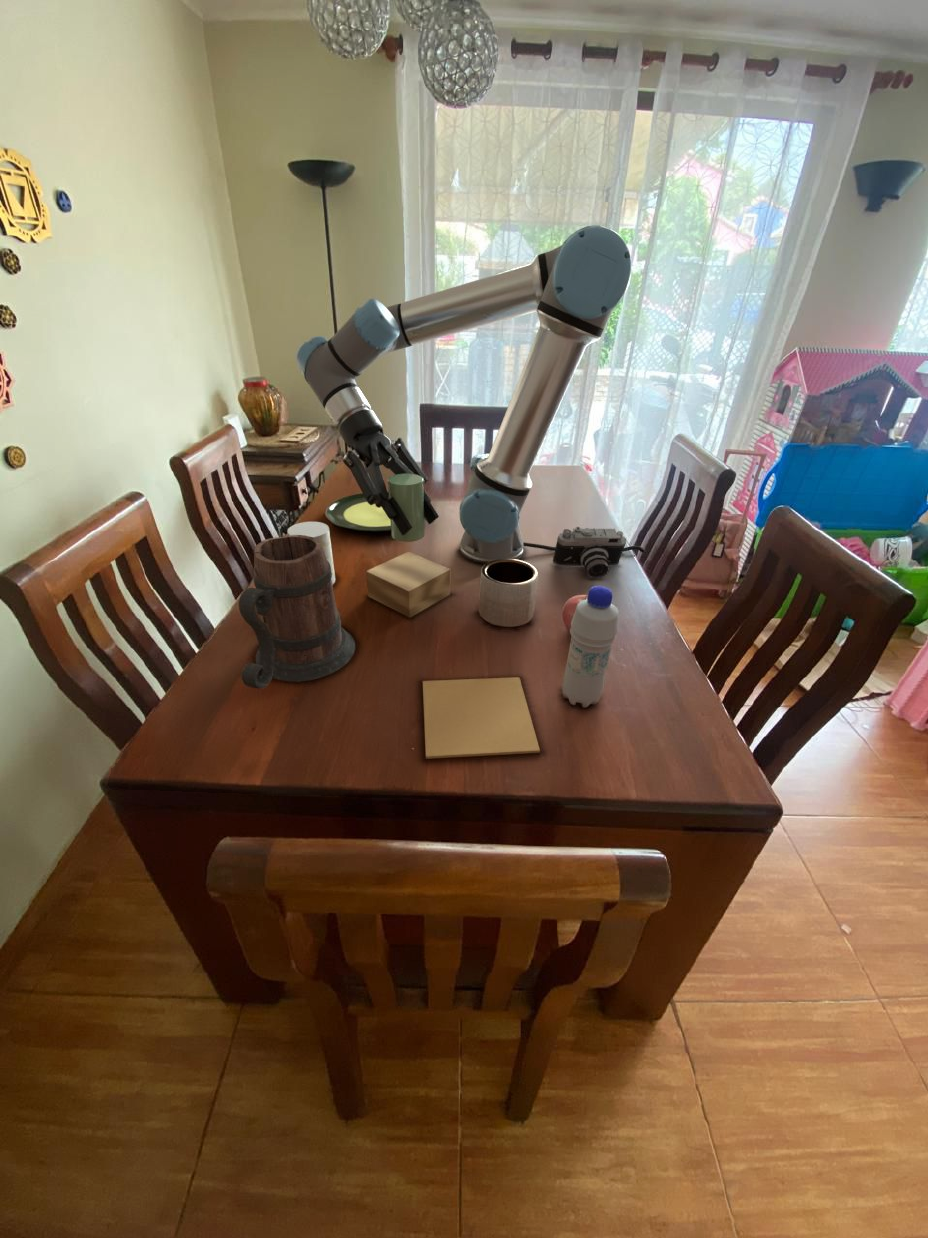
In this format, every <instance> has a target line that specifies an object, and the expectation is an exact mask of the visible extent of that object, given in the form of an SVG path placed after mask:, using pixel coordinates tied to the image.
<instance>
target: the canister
mask: <svg viewBox="0 0 928 1238" xmlns="http://www.w3.org/2000/svg"><path fill="white" fill-rule="evenodd" d="M423 488H424V485H423V478H422V477H421V476H419V475H415V474H396V475H395V474H393V475H391V476H389V477H387V492H389V499H390V498H392V497H394V499H395V500H396V502H397V504H398V505H399V507H400V508H401V510H402V512H403V513H404V515H405V516H406V518H407V520H408V521H409V523H410V524H411V526H412V529H411V530H410V531H408V532H407V533H406V534H405V535H403V536H402V534H401V532H400V531H399V529H398V528H397V526H396V524H395V523H394V521H393V520H392V519H391V520H390V524H391V531H390V536H391V538H392V539H393V540H395V541H398V542H404V543H410V542H411V543H412V542H417V541H419V540H422V539H423V538H424V537H425V519H424V492H423Z"/></svg>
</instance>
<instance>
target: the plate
mask: <svg viewBox="0 0 928 1238" xmlns="http://www.w3.org/2000/svg"><path fill="white" fill-rule="evenodd" d="M387 492H388V496H389V491H387ZM388 499H389V498H388ZM325 517H326V518H327V520H328V521H330V523H331V524H333V525H334V526H337V527H340V528H344V529H348V530H352V531H357V532H367V533H384V532H385V533H386V532H391V524H390V519H389V518H388V516H387V515H386V513H385V512H384V510H383V508H382V507H380V508H378V507H376V505H375V504H373V505H369V504H368V502H367V500H366V498H365V496H364V495H363V493H362V492H360V493H355V494H351V495H347V496H344V497H341V498H339V499H337V500H335V501H333V502H331V503H330V504H329V505H328V507H327V508H326V510H325ZM424 520H426V519H425V517H424Z"/></svg>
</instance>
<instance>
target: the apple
mask: <svg viewBox="0 0 928 1238" xmlns="http://www.w3.org/2000/svg"><path fill="white" fill-rule="evenodd" d="M587 597H588V594H577V595H574V596H572V597H570V598H569V599H568V600H567V601H566V602H565V604H564V606H563V608H562V614H561V615H562V621H563V623H564V626H565V627H566V629H567V630H568V631H569V632H570V629H571V622H572V619H573V616H574V614H575V611H576V608H577V605H578V604H579V603H580V602H581V601H583V600H586V599H587Z"/></svg>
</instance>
